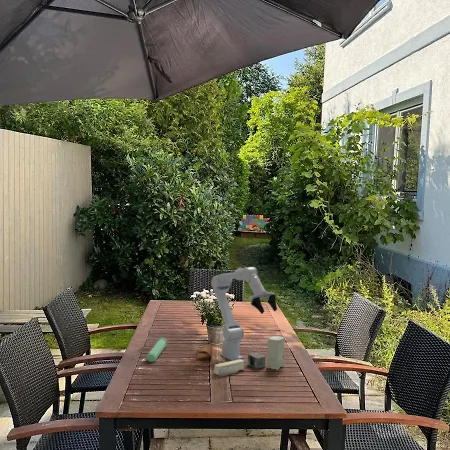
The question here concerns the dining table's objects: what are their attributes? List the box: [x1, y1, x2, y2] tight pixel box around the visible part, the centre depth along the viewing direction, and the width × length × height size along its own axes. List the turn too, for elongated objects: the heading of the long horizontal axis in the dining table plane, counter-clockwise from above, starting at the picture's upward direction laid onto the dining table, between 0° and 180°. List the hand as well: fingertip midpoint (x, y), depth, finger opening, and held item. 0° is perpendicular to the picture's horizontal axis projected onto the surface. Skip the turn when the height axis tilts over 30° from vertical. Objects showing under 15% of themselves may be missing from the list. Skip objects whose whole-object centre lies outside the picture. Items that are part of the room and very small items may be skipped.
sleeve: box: [218, 365, 239, 377], centre depth 230 cm, size 5×10×4 cm, turn 127°
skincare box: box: [266, 335, 285, 371], centre depth 241 cm, size 8×6×15 cm
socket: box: [247, 352, 266, 370], centre depth 242 cm, size 7×6×5 cm
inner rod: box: [213, 358, 246, 376], centre depth 232 cm, size 3×16×4 cm, turn 126°
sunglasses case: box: [195, 343, 213, 362], centre depth 254 cm, size 18×7×7 cm
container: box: [146, 337, 168, 363], centre depth 252 cm, size 6×6×25 cm
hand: (269, 311), depth 228 cm, fingers open, 7 cm apart
